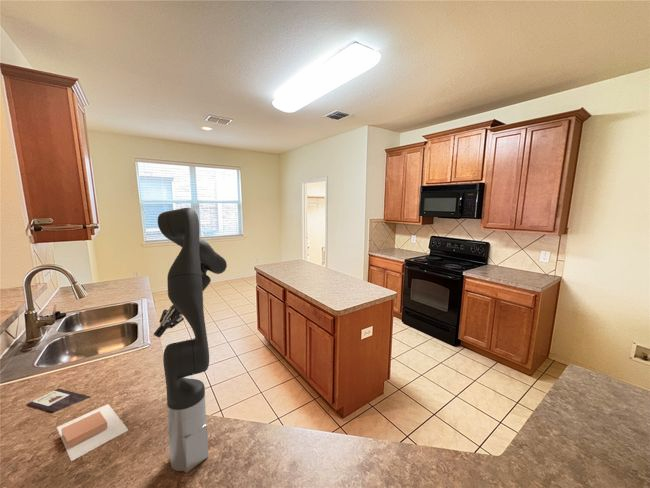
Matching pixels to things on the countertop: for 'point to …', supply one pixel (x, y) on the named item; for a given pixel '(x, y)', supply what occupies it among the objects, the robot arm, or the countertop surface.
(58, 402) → the chocolate bar
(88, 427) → the block
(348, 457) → the countertop surface
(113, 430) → the mat
